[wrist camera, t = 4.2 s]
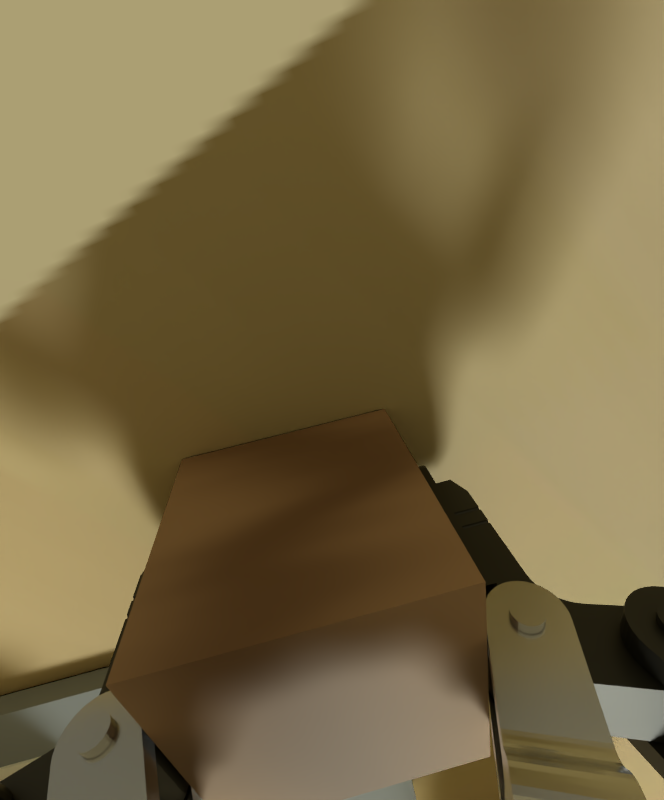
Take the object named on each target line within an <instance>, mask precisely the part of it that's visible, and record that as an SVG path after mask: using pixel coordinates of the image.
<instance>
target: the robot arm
mask: <svg viewBox="0 0 664 800" xmlns="http://www.w3.org/2000/svg"><path fill="white" fill-rule="evenodd" d="M419 469H420V471H421V472H422V474H423V476H424V477H425V479H426V481H427V483H428V484H429V486H430V488H431V489H432V491H433V493H434V495H435V496H436V498H437V500H438V501H439V503H440V505H441V507H442V508H443V510H444V512H445V513H446V515H447V517H448V519H449V520H450V522H451V524H452V525H453V527H454V529H455V530H456V532H457V534H458V536H459V537H460V539H461V541H462V542H463V544H464V546H465V548H466V549H467V551H468V553H469V554H470V556H471V558H472V560H473V561H474V563H475V565H476V566H477V568H478V570H479V572H480V573H481V575H482V577H483V578H484V580H485V582H486V616H487V653H488V689H489V715H490V723H491V732H492V740H493V748H494V756H495V765H496V773H497V781H498V789H499V798H500V800H646V798H645V795H644V793H643V791H642V789H641V787H640V785H639V783H638V782H637V780H636V778H635V777H634V775H633V774H632V773H631V772H630V771H629V770H627V769H626V768H625V767H624V766H623V764H622V763H621V761H620V759H619V757H618V755H617V752H616V750H615V747H614V744H613V741H612V738H611V736H613V737H621V738H627V739H628V740H629V741H630V743H631V744H632V745H633V746H634V747H635V748H636V749H637V750H638V751H639V752H640V753H641V755H642V756H643V757H644V758H645V759H646V760H647V761H648V762H649V763H650V764H651V765H652V767H653V768H654V769H655V770H656V771H657V772H658V773H659V774H660V775H661V776H662V777H663V778H664V587H656V586H651V587H644V588H640V589H637V590H635V591H633V592H632V593H631V594H630V595H629V596H628V598H627V599H626V602H625V605H624V606H615V605H596V604H581V603H573V602H569V601H565V600H562V599H559V598H557V597H556V596H555V595H554V594H553V593H551V592H550V591H548V590H547V589H545V588H543V587H541V586H538V585H536V584H535V583H534V582H533V581H531V580H530V578H529V577H528V576H527V575H526V573H525V572H524V571H523V569H522V568H521V566H520V565H519V563H518V562H517V561H516V559H515V558H514V556H513V555H512V554H511V552H510V551H509V549H508V548H507V546H506V545H505V544H504V542H503V541H502V539H501V538H500V537H499V535H498V534H497V532H496V531H495V529H494V528H493V527H492V525H491V524H490V523H488V520H487V518H486V517H485V515H484V514H483V512H482V511H481V510H479V508H478V505H477V504H476V503H475V501H474V500H473V498H472V497H471V495H470V494H469V493H468V491H467V490H465V489H463V488H462V487H460V486H459V485H457V484H456V483H454V482H453V481H451V480H448V481H444V482H440V483H435V481H434V480H433V478H432V476H431V475H430V473H429V471H428V470H427V468H426V467H425V466H420V467H419ZM144 571H145V570H144ZM143 574H144V572H143V573H142V575H141V576H140V579H139V581H138V584H137V587H136V590H135V593H134V596H133V598H134V600H135V597H136V594H137V591H138V588H139V585H140V582H141V579H142V577H143ZM134 600H133V601H132V602H131V605H130V608H129V610H128V613H127V616H128V618H129V615H130V612H131V609H132V606H133V603H134ZM128 618H127V619H125V622H124V625H123V628H122V631H121V634H120V637H119V639H118V642H117V645H116V648H115V651H114V654H113V657H112V660H111V663H110V666H109V669H108V671H107V674H106V677H105V680H104V683H103V686H102V689H101V691H100V694H99V696H97V697H96V698H94V699H93V700H91V701H90V702H89V703H88V704H86V705H85V706H84V707H83V708H82V709H81V710H80V711H79V712H78V713H77V714H76V715H75V716H74V717H73V719H72V720H71V721H70V722H69V724H68V725H67V727H66V728H65V729H64V731H63V733H62V734H61V736H60V738H59V740H58V742H57V744H56V746H55V748H53V749H52V750H50V751H49V752H47V753H46V754H44V755H42V756H41V757H39V758H38V759H36V760H34V761H33V762H31V763H29V764H28V765H26V766H25V767H23V768H21V769H20V770H18V771H16V772H15V773H13V774H12V775H10V776H8V777H7V778H5V779H3V780H2V781H0V800H201V799H200V796H199V795H198V794H197V793H196V792H195V791H194V789H193V788H192V787H191V786H190V785H189V783H188V782H187V781H186V780H185V779H184V778H183V776H182V775H181V774H180V773H179V772H178V770H177V769H176V768H175V767H174V766H173V765H172V763H171V762H170V761H169V760H168V759H167V757H166V756H165V755H164V754H163V753H162V752H161V750H160V749H159V748H158V747H157V746H156V744H155V743H154V742H153V741H152V740H151V739H150V737H149V736H148V735H147V734H146V733H145V732H144V730H143V729H142V728H141V727H140V726H139V724H138V723H137V722H136V721H135V720H134V719H133V717H132V716H131V715H130V714H129V713H128V711H127V710H126V709H125V708H124V707H123V706H122V704H121V703H120V702H119V701H118V700H117V698H116V697H115V696H114V695H113V694H112V693H111V691H110V690H109V689H108V688H107V687H106V683H107V680H108V677H109V674H110V671H111V668H112V665H113V662H114V659H115V656H116V653H117V650H118V647H119V644H120V642H121V639H122V636H123V633H124V630H125V627H126V624H127V621H128Z"/></svg>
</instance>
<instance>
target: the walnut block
mask: <svg viewBox="0 0 664 800" xmlns="http://www.w3.org/2000/svg"><path fill="white" fill-rule="evenodd" d="M106 687H107V688H108V689H109V690H110V691H111V693H112V694H113V695H114V696H115V697H116V698H117V700H118V701H119V702H120V703H121V704H122V706H123V707H124V708H125V709H126V710H127V711H128V713H129V714H130V715H131V716H132V717H133V719H134V720H135V721H136V722H137V723H138V724H139V726H140V727H141V728H142V729H143V730H144V732H145V733H146V734H147V735H148V736H149V737H150V739H151V740H152V741H153V742H154V743H155V744H156V746H157V747H158V748H159V749H160V750H161V752H162V753H163V754H164V755H165V756H166V757H167V759H168V760H169V761H170V762H171V763H172V765H173V766H174V767H175V768H176V769H177V770H178V772H179V773H180V774H181V775H182V776H183V778H184V779H185V780H186V781H187V782H188V783H189V785H190V786H191V787H192V788H193V789H194V791H195V792H196V793H197V794H198V795H199V796H200V798H201V799H202V800H344V799H347V798H351V797H354V796H358V795H361V794H364V793H368V792H371V791H375V790H378V789H381V788H385V787H388V786H392V785H395V784H398V783H402V782H405V781H409V780H412V779H416V778H419V777H422V776H426V775H429V774H433V773H436V772H439V771H443V770H446V769H450V768H453V767H457V766H460V765H463V764H467V763H470V762H474V761H477V760H480V759H484V758H487V757H490V725H489V689H488V653H487V616H486V582H485V580H484V578H483V577H482V575H481V573H480V572H479V570H478V568H477V566H476V565H475V563H474V561H473V560H472V558H471V556H470V554H469V553H468V551H467V549H466V548H465V546H464V544H463V542H462V541H461V539H460V537H459V536H458V534H457V532H456V530H455V529H454V527H453V525H452V524H451V522H450V520H449V519H448V517H447V515H446V513H445V512H444V510H443V508H442V507H441V505H440V503H439V501H438V500H437V498H436V496H435V495H434V493H433V491H432V489H431V488H430V486H429V484H428V483H427V481H426V479H425V477H424V476H423V474H422V472H421V471H420V469H419V467H418V465H417V464H416V462H415V460H414V459H413V457H412V455H411V454H410V452H409V450H408V448H407V447H406V445H405V443H404V442H403V440H402V438H401V436H400V435H399V433H398V431H397V430H396V428H395V426H394V424H393V423H392V421H391V419H390V418H389V416H388V414H387V412H386V411H385V409H382V410H378V411H374V412H370V413H366V414H362V415H358V416H354V417H350V418H346V419H342V420H338V421H334V422H330V423H326V424H322V425H318V426H314V427H310V428H306V429H302V430H298V431H294V432H290V433H286V434H282V435H278V436H274V437H270V438H266V439H262V440H258V441H254V442H250V443H246V444H242V445H238V446H234V447H230V448H226V449H222V450H218V451H214V452H210V453H206V454H202V455H198V456H194V457H190V458H186V459H182V461H181V464H180V467H179V470H178V473H177V476H176V479H175V482H174V485H173V488H172V491H171V494H170V497H169V500H168V503H167V506H166V509H165V512H164V514H163V517H162V520H161V523H160V526H159V529H158V532H157V535H156V538H155V541H154V544H153V547H152V550H151V553H150V556H149V559H148V562H147V565H146V568H145V571H144V574H143V577H142V579H141V582H140V585H139V588H138V591H137V594H136V597H135V600H134V603H133V606H132V609H131V612H130V615H129V618H128V621H127V624H126V627H125V630H124V633H123V636H122V639H121V642H120V644H119V647H118V650H117V653H116V656H115V659H114V662H113V665H112V668H111V671H110V674H109V677H108V680H107V683H106Z"/></svg>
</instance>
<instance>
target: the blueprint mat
mask: <svg viewBox="0 0 664 800" xmlns="http://www.w3.org/2000/svg"><path fill="white" fill-rule="evenodd" d="M108 669H109V667H107V668H103V669H100V670H96V671H92V672H89V673H85V674H81V675H77V676H74V677H70V678H66V679H63V680H59V681H55V682H52V683H48V684H44V685H41V686H37V687H33V688H30V689H26V690H22V691H18V692H15V693H11V694H7V695H4V696H0V781H2V780H3V779H5V778H7V777H8V776H10V775H12V774H13V773H15V772H16V771H18V770H20V769H21V768H23V767H25V766H26V765H28V764H29V763H31V762H33V761H34V760H36V759H38V758H39V757H41V756H42V755H44V754H46V753H47V752H49V751H50V750H52V749H53V748H55V746H56V744H57V742H58V740H59V738H60V736H61V734H62V733H63V731H64V729H65V728H66V727H67V725H68V724H69V722H70V721H71V720H72V719H73V717H74V716H75V715H76V714H77V713H78V712H79V711H80V710H81V709H82V708H83V707H84V706H85V705H86V704H88V703H89V702H90V701H91V700H93V699H94V698H96V697H97V696H99V694H100V691H101V689H102V686H103V683H104V680H105V677H106V674H107V671H108ZM200 799H201V798H200ZM201 800H202V799H201ZM344 800H416V796H415V792H414V787H413V783H412V780H409V781H405V782H402V783H398V784H395V785H392V786H388V787H385V788H381V789H378V790H375V791H371V792H368V793H364V794H361V795H358V796H354V797H351V798H347V799H344Z"/></svg>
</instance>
